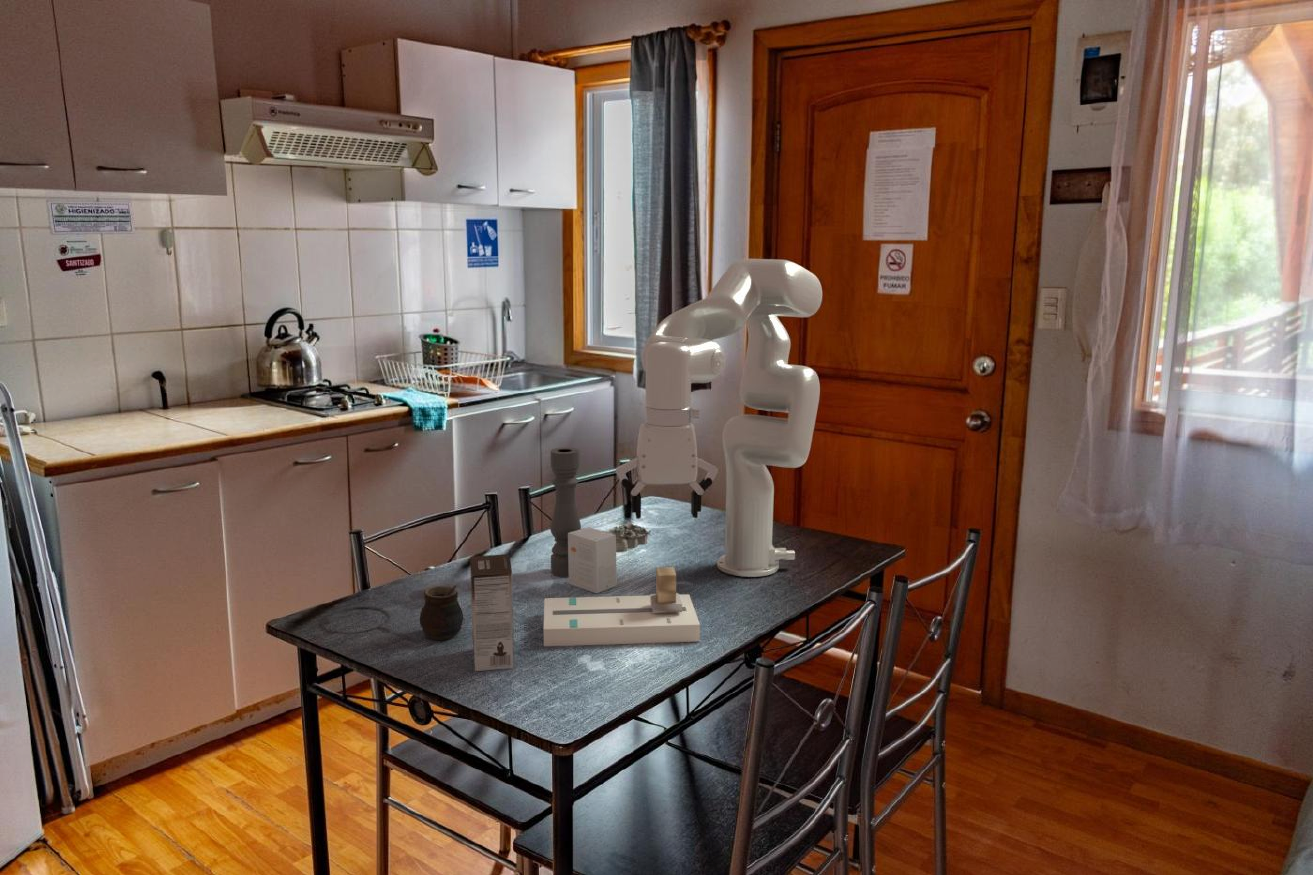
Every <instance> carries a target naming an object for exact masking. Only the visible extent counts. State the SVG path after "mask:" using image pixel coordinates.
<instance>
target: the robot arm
mask: <svg viewBox="0 0 1313 875" xmlns="http://www.w3.org/2000/svg"><path fill="white" fill-rule="evenodd" d="M822 302H823V289H822V284H821V282H820V279H819V278H818V277H817V276H816V275H815V274H814V273H813V272H811V271H809V270H808V269H806V268H805V267H803V266H801V265H799V264H798V263H795V262H793V261H790V260H788V259H773V258H769V259H768V258H767V259H766V258H743V259H739V260H736V261H734V262H733V263H731V264H730V265H729V266H728V268H727V269H726V270H725V272H724V273H723V274H722V276H721V277H720V278H719V280H718V281H717V282H716V283H715V285H714V286H713V287H712V288H711V290H710V292H709V293H708V294H707V296H705V298H704V299H699V300H698V301H696V302H694V303H691V304H688V305H687V306H685V307H683V308H681V309H678V310H677V311H675V312H673V313H671V314H669V315H667V316H666V317H665V318H664V319H662V320H661V321H660V323H659V324H658V325H657V326H656V327H655V328H654V330H653V331H652V332H651V334H650V335H649V337H648V338H647V340H646V342H645V344H644V346H643V349H642V351H641V352H642V354H641V364H642V368H643V370H644V372H645V400H644V401H645V406H644V407H645V408H644V409H645V411H644V413H645V415H644V416H645V421H644V422H643V423H640V425H639V430H638V438H637V447H636V457H635V458H632V459H631V460H629V461H627V462H624V463H623V464H621V465H619V466H617V467H616V468H615V474H616V475H617V478H618V479H619V481H620V482H621V485H622V486H623V487H624V488H625V489H626V490H627V491H628V492H629V494H631V513H633V514H635V517H636V518H635V519H636V520H638V519H641V517H642V495H641V491H642V490H643V489H644V487H645V486H646V485H647V486H671V485H672V486H673V485H674V486H676V485H677V486H678V485H689V486H690V487H691V488H692V491H691V492H690V494H691V499H690V500H691V503H690V513H691V516H692V518H694V519H698V515H699V514H698V512H699V513H701V512H702V495H704V493H705V492H706V490H707V489H709V487H710V486H712V484H713V482H714V480H715V478H716V476H717V475H718V473H719V468H718V467H717V466H715V465H713V464H712V463H709V462H708V461H705V460H704V459H702V458H699V457H698V446H697V437H696V436H697V435H696V430H695V426H694V423H692V421H693V420H695V419H699V418H700V410H698V409H693V407H691V405H692V404H691V403H692V397H691V396H692V395H691V394H692V384H708V383H711V382H712V381H715V380H716V379H718V377H719V376H720V375H721V374H722V372H723V370H724V368H725V364H726V357H725V353H724V350H723V348H722V347H721V345H719V344H718V343H717V342H716V341H715V340H718V339H722V338H725V337H728V336H731V335H733V334H736V333H738V332H739V331H740V330H741V329H742V328H743V326H744V325H745V326H746V329H747V334H748V336H747V337H748V341H747V348H746V355H745V358H744V364H743V368H742V369H743V370H742V375H741V378H740V380H741V381H740V386H739V398H740V401H741V403H742V404H743V405H744V406H745V407H748V408H750V409H754V410H761V411H767V412H777V413H778V412H779V413H780V412H781V413H785V414H788V417H787V418H785V417H775V416H770V415H769V416H768V415H760V414H758V415H757V414H738V415H735V416H732V417H730V419H728V420H727V421H726V423H725V425H724V427H723V429H722V445H723V451H724V452H723V453H724V457H725V468H726V469H725V472H726V487H725V488H726V492H725V493H726V495H725V526H724V527H725V531H724V533H725V534H724V554H723V555H721V556H720V557H718V558H717V560H716V567H717V569H719V571H721V572H722V573H724V574H728V575H732V576H737V577H742V578H743V577H744V578H757V577H758V578H760V577H765V576H769V575H772V574H775V573H776V572H777V571H778V570H779V568H780V560H785V561H787V560H789V561H790V560H793V561H794V560H795V559H796V552H795V550H793V549H789V550H787V548H786V547H778V548H777V547H776V548H775V546H774V545H773V527H774V521H773V520H774V496H775V494H774V493H775V486H774V481H773V478H772V475H771V473H770V471H769V469H768V468H767V466H773V467H780V468H791V469H796V468H800V467H802V466H803V465H805V463H806V462H807V460H808V458H809V455H810V451H811V447H812V443H813V442H812V441H813V434H814V431H815V425H816V420H817V414H818V413H817V412H818V408H819V402H820V395H821V394H820V393H821V388H820V387H821V385H820V380H819V376H818V373H817V372H816V371H815V370H814V369H813V368H811V367H809V366H805V365H798V364H789V357H790V356H789V355H790V350H791V345H792V344H791V338H790V336H789V334H788V331H787V329H786V328H785V327H784V325H783V323H782V322H781V320H780V319H779V317H793V318H809V317H811V316H814V315H815V314H816V313H817V312H818V310H819V309H820V307H821V304H822ZM699 468H700V469H702V470H704V471H706V472H707V473H706V474H705V477H704V478H703V479H702V480H701V481H700V482H699V481H697V479H698V475H699V474H698V472H699V471H698V469H699ZM634 469H635V471H636V472H635V474H636V480H635V481H634V482H632V481H631V480H629V478H628V477H627V473H629V472H630V471H632V470H634Z"/></svg>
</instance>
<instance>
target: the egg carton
mask: <svg viewBox="0 0 1313 875" xmlns="http://www.w3.org/2000/svg"><path fill="white" fill-rule="evenodd" d="M603 531H604V532H607V533H610V534H614V535H616V553H617V552H618V553H619V552H622V553H624V552H627V551H628V549H631V548H632V549H635V548H638V545H647V544H648V538H649V536H650V535H651V533H652V530H649V531H648V530H647V528H645V527H642V526H640V525H638V524H636V525H634V524H633V523H632V522H630V521H628V522H626V523H625V524H623V525H619V526H617V525H616V526H614V527H613V528H610V529H608V530H603Z"/></svg>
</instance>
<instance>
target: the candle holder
mask: <svg viewBox="0 0 1313 875" xmlns="http://www.w3.org/2000/svg"><path fill="white" fill-rule="evenodd" d="M550 468H551V471H552V473H553V475H554V477H555V478H553V479H552V480H551V484H552V486H554V488H555V503H554V508H553V513H552V517H551V521H550V526H549V527H550V534H551V535H552V536H553V538H554V541H555V543H554V545H553V546H552V547H551V555H550V574H551V575H552V576H554V577H558V578H569V567H568V533H569V532H573V531H576V530H580V529H582V524H581V521H580V516H579V512H578V509H577V505H576V504H577V503H576V487H577V486H578V485H579V479H578V478H576V475H577V473H578V471H579V468H580V449H578V448H575V447H556V448H552V449H550Z"/></svg>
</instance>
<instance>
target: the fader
mask: <svg viewBox="0 0 1313 875" xmlns="http://www.w3.org/2000/svg"><path fill="white" fill-rule="evenodd" d="M655 569H656V570H655V572H656V577H655V578H656V582H655V585H656V588H655V589H656V590H655V592H656V593H650V594H649V595H650V603H651V607H652V611H653V613H667V612H682V602H681V599H680V596H679V595H680V593H678V592H677V574H676V573H677V572H676V571H675V570H676V569H675V567H670V566H669V567H656V568H655Z"/></svg>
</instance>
